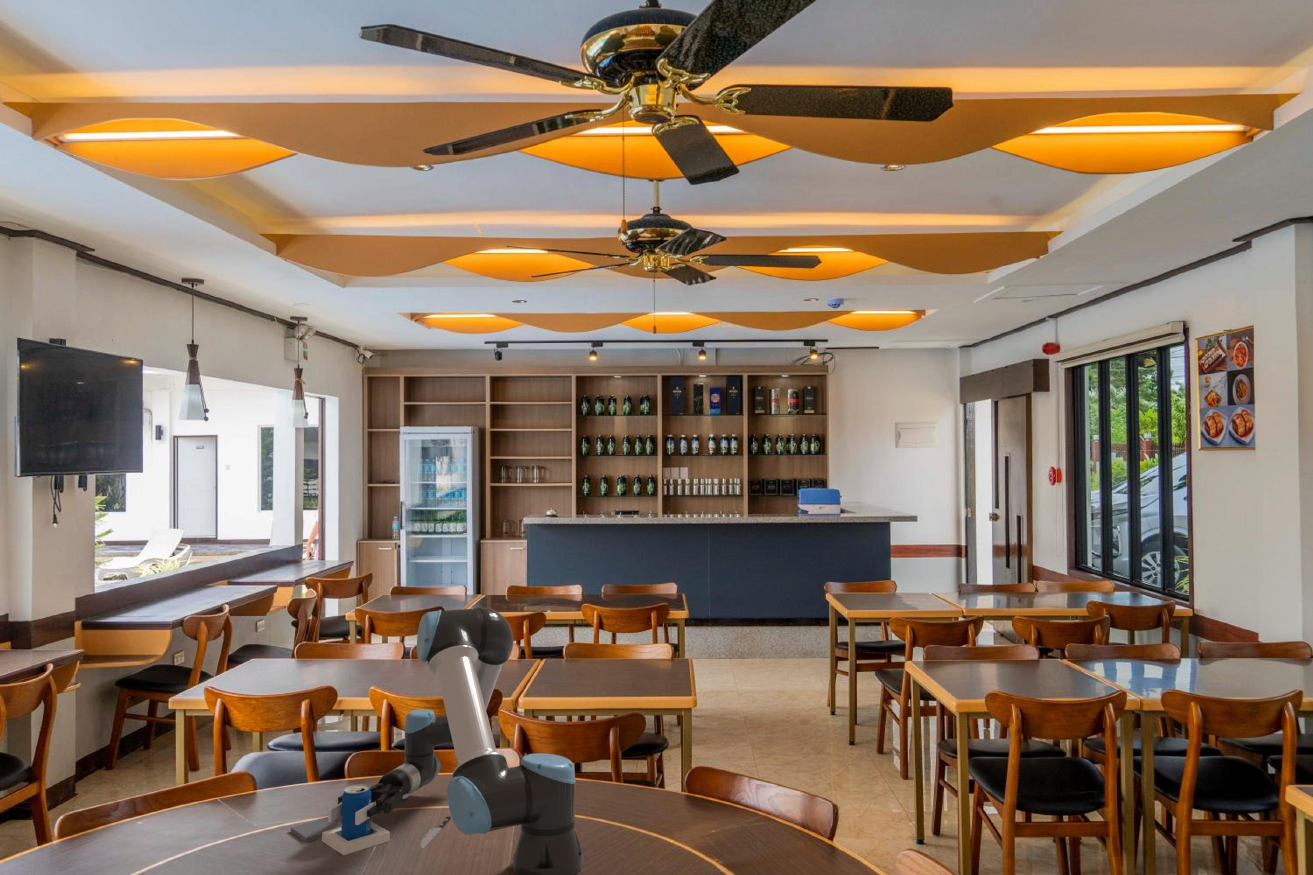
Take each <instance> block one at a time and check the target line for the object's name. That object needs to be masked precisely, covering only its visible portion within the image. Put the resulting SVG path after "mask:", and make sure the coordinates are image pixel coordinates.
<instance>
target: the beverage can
mask: <svg viewBox="0 0 1313 875" xmlns="http://www.w3.org/2000/svg"><path fill="white" fill-rule="evenodd" d="M370 787H371V786H369V785H368V784H363V783H361V784H360V783H359V784H352V785H348V786H347V787H345V788H344V789H343V790H344V791H343V793H342V795H341V796H342V816H341V826H342V828H341V837H343V838H344V839H346V840H347V841H350V840H354V839H357V838H360V837H363V836H367V835H370V834H371V821H372V817H370V818H369V819H367V820H365V821H364V822H362V823H361V824H359V825H355V813H356V812H357V811H359V810H361V809H362V808H364V807H365V806H367V805H369V804H370V803H371V790H370V789H369V788H370Z"/></svg>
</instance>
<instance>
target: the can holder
mask: <svg viewBox="0 0 1313 875" xmlns="http://www.w3.org/2000/svg"><path fill="white" fill-rule="evenodd" d="M341 828H342V827H339V828H335V829H332V830H329V831H325V832H322V838H321V840H322V841H321V842H323V843H325V844H326V845H327V846H328V847H330V848H331V849H333V850H335V851H336V852H338V853H339V854H341V855H343V856H347V855H350V854H352V853H356V852H359V851H362V850H364V849H368V848H371V847H374V846H378V845H380V844H383V843H385V844H386V843H388V842H390V840H391V831H389V830H387V829H386V828H383V827H382V826H380V825H379V824H377V823H375V822H373V821H372V820H371V834H370V835H367V836H363V837H360V838H357V839H354V840H350V841H347V840H346V839H344V838H343V837H341Z"/></svg>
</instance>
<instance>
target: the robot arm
mask: <svg viewBox="0 0 1313 875" xmlns="http://www.w3.org/2000/svg"><path fill="white" fill-rule="evenodd" d="M416 637H417V638H416V655H417V659H418V661H419V662H421V663H427V664H428V665H427V666H428V668H429V671H430V673H432V674H434V675H437V678H438V682H439V687H440V690H441V691H440V692H441V695H442V701H443V704H444V710H445V714H444V715H443V714H442V715H436V716H435V712H434V710H431V709H429V708H428V709H421V708H420V709H415V710H411V711H409V712H408V713H406V716H405V723H404V730H403V731H404V756H403V757H404V759H403V760H404V762H403V764H401V765H399V766H398V767H396V768H394V769H392V770H390V771H389V772H387V773H385V774H384V775H382V777H380V779H379V781H378V782H377V783H375V784H373V785H372V786H369V787H370V788H369V789H370V790H371V803H370V804H369V805H367V806H365V807H364V808H362V809H361V810H359V811H357V812H356V813H355V825H359V824H361V823H362V822H364V821H365V820H367V819H369V818H370V817H371V818H373V817H374V816H375V815H380V814H382V813H383V814H385V815H388V814H390V813H391V812H392V811H394V810H395V809H396V808H398V807H399V806H400V805H402V804H403V803H405V802H407V801H409V800H410V799H409V796H410V795H411V794H412V793H414V792H416V791H417V790H419V789H421V788H422V787H424V786H426V785H428V784H430V783H431V782H432V781H433V780H434V779H435V778H436V777H437V776H438V775H439V773H440V771H441V761H440V760H439V757H438V755H436V754H435V750H434V749H435V747H436V746H443V745H449V744H452V745H453V748H454V754H455V760H456V763H457V765H456V767H455V768H454V770H453V772H452V778H451V779H450V781H449V782H448V784H447V790H446V791H447V792H446V793H447V798H448V801H447V804H448V809H449V812H450V817H451V820H452V821H453V823H454V825H455V827H456V828H457V829H458V831H459V832H461V833H462V834H464V835H466V836H467V835H468V836H471V835H478V834H483V835H484V834H487V833H490V832H493V831H497V830H503V829H506V828H511V827H515V826H520V834H519V837H518V840H517V844H516V847H515V851H514V853H513V857H512V871H513V873H514V874H515V875H576V874H578V873H579V872H580V871H581V870H582V869H583V865H584V863H583V862H584V857H583V856H584V855H583V851H582V849H581V845H580V841H579V837H578V834H577V831H576V827H575V826H576V822H575V821H576V819H575V818H576V782H577V781H576V772H575V765H574V763H573V762H572V761H571V760H570V759H568V758H567V757H564V756H562V755H558V754H552V753H540V752H539V753H537V752H536V753H528V754H526V755H524V756H522V758H521V761H520V765H518V766H512V767H509V766H508V762H507V759H506V758H507V757H506V756H505V755H504V754H502V753H499V752H497V748H496V744H495V741H494V736H493V732H492V729H491V724H490V721H489V716H488V713H487V709H488V706H489V703H490V700H491V697H492V696H493V692H494V689H495V687H496V684H497V681H498V678H499V675H500V673H501V670H502V667H503V665H504V664H505V663H507V662H508V660H509V659H510V658H511V657H510V656H511V655H512V653H513V652H512V651H513V648H514V633H513V630H512V627H511V625H510V623H509V622H508V620H507V619H506V618H505V617H504V616H503V615H502V614H501V613H500V612H498V611H496V610H494V609H492V608H488V607H475V608H472V607H471V608H461V609H451V610H448V609H447V610H442V609H438V610H434V611H428V612H426V613H424V614H423V615H422V616H421V619H420V621H419V624H418V628H417V636H416ZM327 816H328V822H332V821H335V820H337V819H338V818H341V817H342V795H340V796H338V797H337V804H336V805H334V806H333V807H330V808H329V809H328V811H327Z"/></svg>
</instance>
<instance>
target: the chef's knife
mask: <svg viewBox="0 0 1313 875" xmlns="http://www.w3.org/2000/svg"><path fill="white" fill-rule="evenodd" d="M449 820H452V816H451V815H449V816H446V817H445V819H444V821H443V822H442V823H441V824H439V825H438V826H437V827H433V828H430V829H429V830H428V831H427V832H426V834H425V835H424V836H426V837H424V836H423V838H422V839H421V841H420V848H421V849H424V848H425V847H426V846H427V845H428V844H430V842H431V841H432V840H433V839H434V838H435V837H436V836H437V835H438V834H439V833H440V832H441V831H442V830H443V828H445V826H446V825H447V824H448V823H449V822H450V821H449ZM448 821H449V822H448ZM447 822H448V823H447ZM446 823H447V824H446ZM440 830H441V831H440ZM439 831H440V832H439ZM437 833H438V834H437ZM436 834H437V835H436Z"/></svg>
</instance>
